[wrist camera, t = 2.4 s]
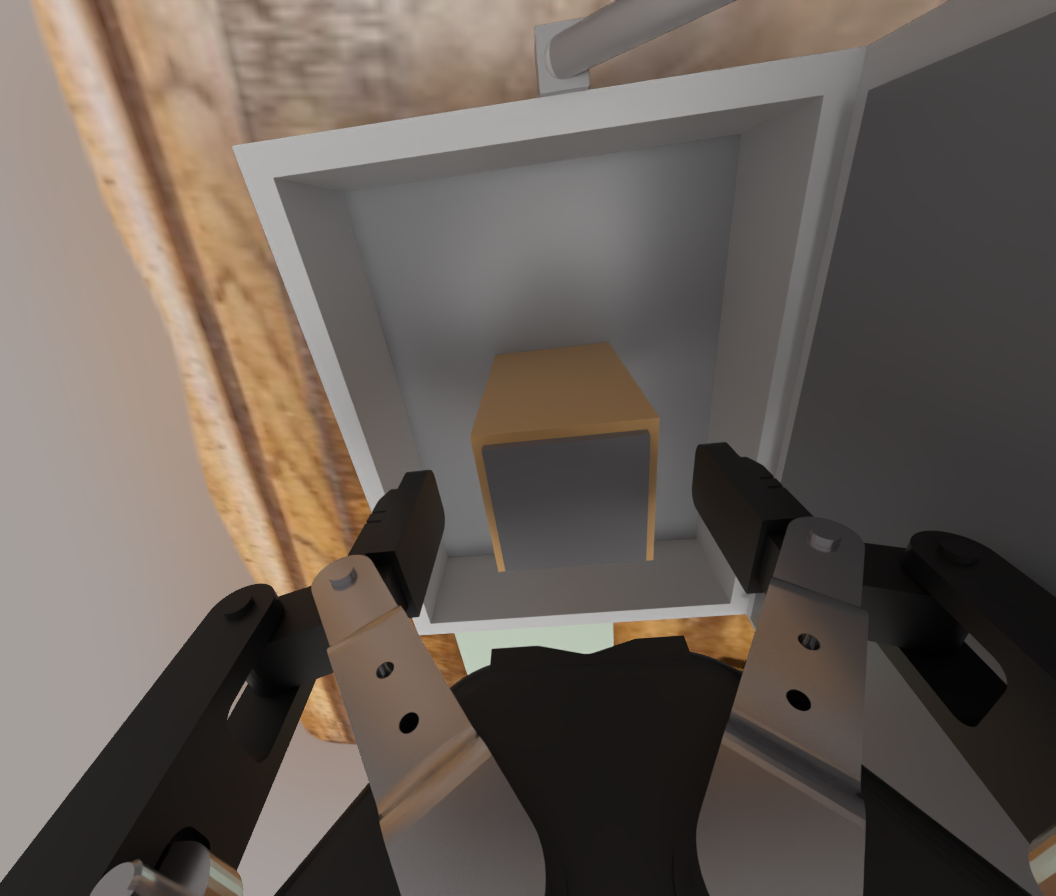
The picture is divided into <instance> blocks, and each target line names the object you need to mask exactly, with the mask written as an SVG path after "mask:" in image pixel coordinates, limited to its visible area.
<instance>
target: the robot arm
mask: <svg viewBox="0 0 1056 896" xmlns="http://www.w3.org/2000/svg"><path fill="white" fill-rule="evenodd" d="M692 498H693V503H694V505H695V508H696V510H697V511H698V513H699V515H700V516H701V518H702V520H703V522H704V523H705V525H706V527H707V528H708V530H709V532H710V533H711V535H712V537H713V538H714V540H715V542H716V543H717V545H718V547H719V549H720V550H721V552H722V554H723V555H724V557H725V559H726V560H727V562H728V564H729V565H730V567H731V569H732V571H733V572H734V574H735V576H736V577H737V579H738V581H739V582H740V584H741V586H742V587H743V589H744V591H745V593H746V594H754V593H765V594H766V598H765V601H764V604H763V607H762V611H761V614H760V617H759V621H758V624H757V627H756V631H755V634H754V637H753V641H752V644H751V647H750V651H749V654H748V657H747V661H746V664H745V667H744V671H743V673H742V672H740V671H738V670H737V669H735V668H733V667H731V666H729V665H728V664H726V663H724V662H722V661H719V660H716V659H714V658H711V657H709V656H705V655H702V654H698V653H694V652H690V651H689V648H688V646H687V643H686V641H685V638H684V636H670V637H656V638H641V639H634V640H631V641H628V642H625V643H621V644H618V645H615V646H612V647H609V648H606V649H603V650H600V651H597V652H594V653H590V654H582V653H576V652H571V651H565V650H560V649H554V648H548V647H543V646H525V647H510V648H496V649H492V650H491V661H490V665H488V666H485V667H482V668H480V669H478V670H476V671H474V672H472V673H470V674H469V675H467V676H465V677H464V678H462V679H461V680H460V681H458V682H457V683H456V684H454V685H453V686H452V687H451V688H449V686H448V684H447V683H446V681H445V679H444V678H443V676H442V674H441V673H440V671H439V669H438V667H437V666H436V664H435V662H434V661H433V659H432V657H431V656H430V654H429V652H428V650H427V649H426V647H425V645H424V644H423V642H422V640H421V639H420V637H419V635H418V633H417V632H416V630H415V628H414V627H413V625H412V623H411V622H410V620H409V618H414V617H419V616H420V613H421V609H422V606H423V602H424V599H425V595H426V592H427V588H428V585H429V581H430V578H431V574H432V571H433V567H434V564H435V560H436V557H437V553H438V550H439V546H440V542H441V539H442V535H443V532H444V528H445V514H444V508H443V505H442V501H441V497H440V494H439V490H438V486H437V483H436V479H435V476H434V473H433V471H432V470H422V471H412V472H406V473H405V475H404V477H403V479H402V481H401V483H400V485H399V487H398V489H391V490H389V491H388V492H387V493H386V494H385V495H384V496H383V497H382V498H380V499H379V500H378V502H377V504H376V506H375V507H374V509H373V511H372V514H371V515H370V516H369V518H368V520H367V524H365V525H364V527H363V529H362V531H361V533H360V534H359V536H358V538H357V540H356V542H355V543H354V545H353V547H352V549H351V551H350V552H349V554H348V556H346V557H343V558H340V559H338V560H336V561H334V562H332V563H330V564H329V565H327V566H326V567H325V568H324V569H322V570H321V571H320V572H319V573H318V575H317V576H316V577H315V579H314V581H313V583H312V586H310V587H307V588H304V589H301V590H297V591H294V592H291V593H288V594H285V595H282V596H279V597H278V596H277V594H276V592H275V591H274V589H273V588H272V587H271V586H270V585H267V584H254V585H250V586H247V587H244V588H241V589H239V590H237V591H235V592H233V593H231V594H229V595H228V596H226V597H225V598H224V599H222V600H221V601H220V602H219V603H217V604H216V605H215V606H214V607H213V608H212V609H211V611H210V612H209V613H208V614H207V616H206V617H205V618H204V619H203V621H202V622H201V623H200V625H199V626H198V627H197V629H196V630H195V631H194V632H193V634H192V635H191V636H190V638H189V639H188V640H187V642H186V643H185V644H184V645H183V647H182V648H181V649H180V651H179V652H178V653H177V655H176V656H175V657H174V658H173V660H172V661H171V662H170V664H169V665H168V666H167V668H166V669H165V670H164V671H163V673H162V674H161V675H160V677H159V678H158V679H157V680H156V682H155V683H154V684H153V686H152V687H151V688H150V690H149V691H148V692H147V693H146V695H145V696H144V697H143V699H142V700H141V701H140V703H139V704H138V705H137V706H136V708H135V709H134V710H133V712H132V713H131V714H130V716H129V717H128V718H127V720H126V721H125V722H124V723H123V725H122V726H121V727H120V728H119V730H118V731H117V732H116V734H115V735H114V737H113V738H112V739H111V740H110V742H109V743H108V744H107V745H106V747H105V748H104V749H103V751H102V752H101V753H100V754H99V756H98V757H97V759H96V760H95V761H94V762H93V763H92V765H91V766H90V767H89V769H88V770H87V771H86V773H85V774H84V775H83V776H82V778H81V779H80V780H79V782H78V783H77V784H76V786H75V787H74V788H73V790H72V791H71V792H70V793H69V795H68V796H67V797H66V798H65V800H64V801H63V802H62V804H61V805H60V806H59V808H58V809H57V810H56V811H55V813H54V814H53V815H52V817H51V818H50V819H49V821H48V822H47V823H46V825H45V826H44V827H43V828H42V830H41V831H40V832H39V834H38V835H37V836H36V838H35V839H34V840H33V841H32V843H31V844H30V845H29V846H28V848H27V849H26V850H25V852H24V853H23V854H22V856H21V857H20V858H19V859H18V861H17V862H16V863H15V865H14V866H13V867H12V869H11V870H10V871H9V872H8V874H7V875H6V876H5V878H4V879H3V880H2V882H1V883H0V896H243V883H242V880H241V877H240V875H239V873H238V872H237V868H238V866H239V864H240V861H241V859H242V856H243V854H244V852H245V849H246V847H247V844H248V842H249V840H250V837H251V835H252V832H253V830H254V828H255V825H256V823H257V820H258V818H259V815H260V813H261V811H262V808H263V806H264V803H265V801H266V799H267V796H268V794H269V791H270V789H271V787H272V784H273V782H274V780H275V777H276V775H277V772H278V770H279V768H280V765H281V763H282V760H283V758H284V756H285V753H286V751H287V748H288V746H289V743H290V741H291V739H292V736H293V734H294V731H295V729H296V727H297V724H298V722H299V719H300V717H301V715H302V712H303V710H304V707H305V705H306V703H307V700H308V698H309V695H310V693H311V691H312V688H313V686H314V683H315V681H316V679H317V678H320V677H323V676H325V675H328V674H331V673H333V672H334V675H335V678H336V681H337V684H338V687H339V690H340V694H341V697H342V700H343V703H344V706H345V709H346V712H347V715H348V718H349V721H350V725H351V728H352V731H353V734H354V737H355V740H356V743H357V746H358V749H359V752H360V756H361V759H362V762H363V765H364V768H365V771H366V774H367V777H368V780H369V783H368V784H367V785H366V787H365V788H364V789H363V790H362V792H361V793H360V794H359V795H358V796H357V797H356V799H355V800H354V801H353V802H352V803H351V804H350V806H349V807H348V808H347V809H346V810H345V812H344V813H343V814H342V815H341V817H340V818H339V819H338V820H337V821H336V822H335V824H334V825H333V826H332V827H331V828H330V829H329V831H328V832H327V833H326V834H325V835H324V837H323V838H322V839H321V840H320V841H319V843H318V844H317V845H316V846H315V847H314V849H313V850H312V851H311V852H310V854H309V855H308V856H307V857H306V858H305V859H304V860H303V862H302V863H301V864H300V865H299V866H298V868H297V869H296V870H295V871H294V872H293V874H292V875H291V876H290V877H289V878H288V880H287V881H286V882H285V883H284V884H283V885H282V887H281V888H280V889H279V890H278V891H277V893H276V894H275V895H274V896H1033V895H1031V894H1030V893H1029V892H1027V891H1026V890H1025V889H1024V888H1022V887H1021V886H1020V885H1018V884H1017V883H1016V882H1014V881H1013V880H1012V879H1011V878H1009V877H1008V876H1007V875H1005V874H1004V873H1003V872H1001V871H1000V870H999V869H998V868H996V867H995V866H994V865H992V864H991V863H990V862H988V861H987V860H986V859H985V858H983V857H982V856H981V855H979V854H978V853H977V852H975V851H974V850H973V849H972V848H970V847H969V846H968V845H966V844H965V843H964V842H962V841H961V840H960V839H959V838H957V837H956V836H955V835H953V834H952V833H951V832H950V831H948V830H947V829H946V828H944V827H943V826H942V825H940V824H939V823H938V822H937V821H935V820H934V819H933V818H931V817H930V816H929V815H927V814H926V813H925V812H924V811H922V810H921V809H920V808H918V807H917V806H916V805H914V804H913V803H912V802H911V801H909V800H908V799H907V798H905V797H904V796H903V795H901V794H900V793H899V792H898V791H896V790H895V789H894V788H892V787H891V786H890V785H889V784H887V783H886V782H885V781H883V780H882V779H881V778H879V777H878V776H877V775H876V774H874V773H873V772H872V771H870V770H869V769H868V768H866V767H865V766H864V765H863V764H861V763H862V743H863V723H864V703H865V684H866V664H867V644H868V641H872V642H876V643H877V644H878V646H879V647H880V648H881V650H882V651H883V652H884V654H885V655H886V656H887V657H888V659H889V660H890V661H891V663H892V664H893V665H894V667H895V668H896V669H897V671H898V672H899V673H900V675H901V676H902V677H903V678H904V680H905V681H906V682H907V684H908V685H909V686H910V688H911V689H912V690H913V692H914V693H915V694H916V696H917V697H918V698H919V699H920V701H921V702H922V703H923V705H924V706H925V707H926V709H927V710H928V711H929V713H930V714H931V715H932V717H933V718H934V719H935V720H936V722H937V723H938V724H939V726H940V727H941V728H942V730H943V731H944V732H945V734H946V735H947V736H948V738H949V739H950V740H951V741H952V743H953V744H954V745H955V747H956V748H957V749H958V751H959V752H960V753H961V755H962V756H963V757H964V759H965V760H966V761H967V762H968V764H969V765H970V766H971V768H972V769H973V770H974V772H975V773H976V774H977V776H978V777H979V778H980V780H981V781H982V782H983V783H984V785H985V786H986V787H987V789H988V790H989V791H990V793H991V794H992V795H993V797H994V798H995V799H996V801H997V802H998V803H999V804H1000V806H1001V807H1002V808H1003V810H1004V811H1005V812H1006V814H1007V815H1008V816H1009V818H1010V819H1011V820H1012V822H1013V823H1014V824H1015V826H1016V827H1017V828H1018V829H1019V831H1020V832H1021V833H1022V835H1023V836H1024V837H1025V839H1026V840H1027V841H1028V843H1029V844H1030V846H1029V850H1028V859H1029V865H1030V868H1031V871H1032V874H1033V876H1034V878H1035V880H1036V882H1037V884H1038V886H1039V888H1040V889H1041V891H1042V893H1043V894H1044V896H1056V597H1054V596H1053V595H1052V594H1050V593H1049V592H1048V591H1046V590H1045V589H1044V588H1042V587H1041V586H1040V585H1038V584H1037V583H1036V582H1034V581H1033V580H1032V579H1030V578H1029V577H1028V576H1026V575H1025V574H1024V573H1022V572H1021V571H1020V570H1018V569H1017V568H1016V567H1014V566H1013V565H1012V564H1010V563H1009V562H1008V561H1006V560H1005V559H1004V558H1002V557H1001V556H1000V555H998V554H997V553H996V552H994V551H993V550H991V549H990V548H988V547H986V546H985V545H983V544H981V543H979V542H976V541H974V540H972V539H969V538H967V537H964V536H960V535H957V534H953V533H949V532H943V531H921V532H917V533H915V534H914V535H913V536H912V537H911V539H910V541H909V543H908V545H907V547H906V548H901V547H894V546H886V545H878V544H870V543H864V542H863V540H862V539H861V537H860V536H859V535H858V534H857V533H855V532H854V531H853V530H852V529H850V528H848V527H847V526H845V525H843V524H841V523H838V522H836V521H833V520H829V519H825V518H820V517H814V516H813V515H812V514H811V513H810V512H809V511H808V510H807V509H806V508H805V507H804V506H803V505H802V504H801V503H800V502H799V501H798V500H797V499H796V498H795V497H794V496H793V495H792V494H791V493H790V492H789V491H788V490H787V489H786V488H785V487H784V488H783V485H782V484H781V483H780V482H779V481H778V480H777V479H776V478H774V476H773V475H772V474H771V473H770V472H769V471H768V470H767V469H766V468H765V467H764V466H763V465H762V464H760V463H758V462H756V461H754V460H752V459H750V458H748V457H740V456H739V455H738V454H737V453H736V452H735V451H734V450H733V448H732V447H731V446H730V445H729V444H728V443H726V442H718V443H708V444H699V445H698V446H697V448H696V451H695V460H694V470H693V480H692ZM969 633H970V634H971V635H972V636H973V637H974V638H975V639H976V640H977V641H978V642H979V643H980V644H981V645H982V646H983V647H984V648H985V649H986V650H987V651H988V652H989V653H990V654H991V655H992V656H993V657H994V658H995V659H996V660H997V662H998V663H999V664H1000V666H1001V667H1002V669H1003V671H1004V673H1005V676H1006V679H1007V684H1006V683H1005V682H1004V681H1003V680H1002V679H1001V678H1000V677H999V676H998V675H997V674H996V673H995V672H994V671H993V670H992V669H991V668H990V667H989V666H988V665H987V664H986V663H985V662H984V661H983V660H982V659H981V658H980V657H979V656H978V655H977V654H976V653H975V652H974V651H973V650H972V649H971V648H970V647H969V646H968V645H967V643H966V642H965V641H964V640H965V639H966V637H967V636H968V634H969ZM245 681H247V683H248V685H247V686H246V688H245V690H244V692H243V694H242V695H241V697H240V699H239V701H238V702H237V704H236V706H235V708H234V709H233V711H232V713H231V715H230V717H229V718H228V713H229V710H230V708H231V705H232V703H233V702H234V700H235V698H236V696H237V695H238V693H239V691H240V689H241V688H242V686H243V684H244V682H245ZM227 718H228V720H227Z"/></svg>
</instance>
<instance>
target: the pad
mask: <svg viewBox="0 0 1056 896" xmlns="http://www.w3.org/2000/svg"><path fill="white" fill-rule="evenodd" d="M455 636H456V640H457V643H458V646H459V649H460V652H461V655H462V659H463V662H464V665H465V668H466V671H467V674H468V675H469V674H470V673H472V672H474V671H476V670H478V669H480V668H482V667H485V666H488V665H490V661H491V650H492V649H496V648H510V647H525V646H543V647H548V648H554V649H560V650H565V651H571V652H576V653H582V654H590V653H594V652H597V651H600V650H603V649H606V648H609V647H612V646H614V644H613V623H599V624H584V625H569V626H553V627H538V628H523V629H507V630H492V631H476V632H461V633H455Z"/></svg>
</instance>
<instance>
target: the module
mask: <svg viewBox="0 0 1056 896" xmlns="http://www.w3.org/2000/svg"><path fill="white" fill-rule="evenodd" d="M659 420H660V418H659V416H658V415H657V413H656V412H655V410H654V409H653V407H652V406H651V404H650V403H649V401H648V400H647V398H646V397H645V395H644V394H643V392H642V391H641V389H640V388H639V386H638V385H637V383H636V382H635V380H634V379H633V377H632V376H631V374H630V373H629V371H628V370H627V368H626V367H625V365H624V364H623V362H622V361H621V360H620V358H619V357H618V355H617V354H616V352H615V351H614V349H613V348H612V346H611V345H610V343H609V342H604V343H596V344H587V345H578V346H569V347H560V348H552V349H543V350H534V351H525V352H516V353H507V354H499V355H495V358H494V361H493V365H492V368H491V371H490V374H489V377H488V380H487V384H486V387H485V390H484V393H483V396H482V400H481V403H480V406H479V409H478V412H477V415H476V419H475V422H474V425H473V428H472V431H471V435H470V440H471V445H472V449H473V454H474V459H475V463H476V468H477V473H478V478H479V482H480V487H481V492H482V497H483V501H484V506H485V511H486V516H487V520H488V525H489V530H490V535H491V539H492V544H493V549H494V554H495V558H496V563H497V568H498V572H503V571H518V570H531V569H544V568H557V567H571V566H584V565H597V564H611V563H624V562H637V561H649V560H653V553H654V531H655V509H656V486H657V464H658V442H659Z"/></svg>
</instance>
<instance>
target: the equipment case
mask: <svg viewBox="0 0 1056 896" xmlns="http://www.w3.org/2000/svg"><path fill="white" fill-rule="evenodd" d="M734 1H736V0H616V1H614V2H612V3H610V4H609V5H607V6H605V7H604V8H602V9H600V10H598V11H597V12H595V13H593V14H591V15H590V16H588V17H585V18H579V19H574V20H568V21H562V22H556V23H550V24H544V25H538V26H535V64H536V77H537V89H538V98H534V99H527V100H521V101H514V102H508V103H502V104H495V105H489V106H483V107H476V108H470V109H464V110H457V111H451V112H444V113H438V114H432V115H425V116H419V117H413V118H406V119H400V120H394V121H387V122H381V123H374V124H368V125H362V126H355V127H349V128H343V129H336V130H330V131H324V132H317V133H311V134H304V135H298V136H292V137H285V138H279V139H273V140H266V141H260V142H254V143H247V144H241V145H234V146H232V148H233V151H234V153H235V156H236V159H237V161H238V164H239V166H240V169H241V172H242V174H243V177H244V180H245V182H246V185H247V187H248V190H249V193H250V195H251V198H252V200H253V203H254V206H255V208H256V211H257V214H258V216H259V219H260V221H261V224H262V227H263V229H264V232H265V234H266V237H267V240H268V242H269V245H270V248H271V250H272V253H273V255H274V258H275V261H276V263H277V266H278V268H279V271H280V274H281V276H282V279H283V282H284V284H285V287H286V289H287V292H288V295H289V297H290V300H291V302H292V305H293V308H294V310H295V313H296V315H297V318H298V321H299V323H300V326H301V329H302V331H303V334H304V336H305V339H306V342H307V344H308V347H309V349H310V352H311V355H312V357H313V360H314V363H315V365H316V368H317V370H318V373H319V376H320V378H321V381H322V383H323V386H324V389H325V391H326V394H327V397H328V399H329V402H330V404H331V407H332V410H333V412H334V415H335V417H336V420H337V423H338V425H339V428H340V431H341V433H342V436H343V438H344V441H345V444H346V446H347V449H348V451H349V454H350V457H351V459H352V462H353V465H354V467H355V470H356V472H357V475H358V478H359V480H360V483H361V485H362V488H363V491H364V493H365V496H366V498H367V501H368V504H369V506H370V509H371V512H372V511H373V509H374V507H375V506H376V504H377V502H378V500H379V499H380V498H382V497H383V496H384V495H385V494H386V493H387V492H388V491H389V490H391V489H398V487H399V485H400V483H401V481H402V479H403V477H404V475H405V473H406V472H412V471H422V470H432V471H433V473H434V476H435V479H436V483H437V486H438V490H439V494H440V497H441V501H442V505H443V508H444V514H445V528H444V532H443V535H442V539H441V542H440V546H439V550H438V553H437V557H436V560H435V564H434V567H433V571H432V574H431V578H430V581H429V585H428V588H427V592H426V595H425V599H424V602H423V606H422V609H421V613H420V616H419V617H414V618H412V619H413V621H414V624H415V627H416V629H417V632H418V634H419V635H430V634H446V633H461V632H476V631H492V630H507V629H523V628H538V627H553V626H569V625H584V624H599V623H615V622H630V621H645V620H661V619H676V618H691V617H707V616H722V615H737V614H746V615H747V617H748V619H749V621H750V623H751V624H752V626H753V628H754V630H755V631H756V627H757V624H758V621H759V617H760V614H761V611H762V607H763V604H764V601H765V598H766V594H765V593H754V594H746V593H745V591H744V589H743V587H742V586H741V584H740V582H739V581H738V579H737V577H736V576H735V574H734V572H733V571H732V569H731V567H730V565H729V564H728V562H727V560H726V559H725V557H724V555H723V554H722V552H721V550H720V549H719V547H718V545H717V543H716V542H715V540H714V538H713V537H712V535H711V533H710V532H709V530H708V528H707V527H706V525H705V523H704V522H703V520H702V518H701V516H700V515H699V513H698V511H697V510H696V508H695V505H694V503H693V498H692V480H693V470H694V460H695V451H696V448H697V446H698V445H699V444H708V443H718V442H726V443H728V444H729V445H730V446H731V447H732V448H733V450H734V451H735V452H736V453H737V454H738V455H739V456H740V457H748V458H750V459H752V460H754V461H756V462H758V463H760V464H762V465H763V466H764V467H765V468H766V469H767V470H768V471H769V472H770V473H771V474H772V475H773V476H774V478H776V479H777V480H778V481H779V482H780V483H781V484H782V485H783V488H784V487H785V488H786V489H787V490H788V491H789V492H790V493H791V494H792V495H793V496H794V497H795V498H796V499H797V500H798V501H799V502H800V503H801V504H802V505H803V506H804V507H805V508H806V509H807V510H808V511H809V512H810V513H811V514H812V515H813V516H814V517H820V518H825V519H829V520H833V521H836V522H838V523H841V524H843V525H845V526H847V527H848V528H850V529H852V530H853V531H854V532H855V533H857V534H858V535H859V536H860V537H861V539H862V540H863V542H864V543H870V544H878V545H886V546H894V547H901V548H906V547H907V545H908V543H909V541H910V539H911V537H912V536H913V535H914V534H915V533H917V532H921V531H943V532H949V533H953V534H957V535H960V536H964V537H967V538H969V539H972V540H974V541H976V542H979V543H981V544H983V545H985V546H986V547H988V548H990V549H991V550H993V551H994V552H996V553H997V554H998V555H1000V556H1001V557H1002V558H1004V559H1005V560H1006V561H1008V562H1009V563H1010V564H1012V565H1013V566H1014V567H1016V568H1017V569H1018V570H1020V571H1021V572H1022V573H1024V574H1025V575H1026V576H1028V577H1029V578H1030V579H1032V580H1033V581H1034V582H1036V583H1037V584H1038V585H1040V586H1041V587H1042V588H1044V589H1045V590H1046V591H1048V592H1049V593H1050V594H1052V595H1053V596H1054V597H1056V0H949V1H947V2H946V3H944V4H942V5H940V6H938V7H937V8H935V9H933V10H931V11H929V12H928V13H926V14H924V15H922V16H920V17H919V18H917V19H915V20H913V21H911V22H910V23H908V24H906V25H904V26H902V27H901V28H899V29H897V30H895V31H893V32H892V33H890V34H888V35H886V36H884V37H883V38H881V39H879V40H877V41H875V42H874V43H872V44H870V45H868V46H864V47H858V48H852V49H845V50H839V51H833V52H826V53H820V54H814V55H807V56H801V57H794V58H788V59H782V60H775V61H769V62H763V63H756V64H750V65H744V66H737V67H731V68H724V69H718V70H712V71H705V72H699V73H693V74H686V75H680V76H674V77H667V78H661V79H654V80H648V81H642V82H635V83H629V84H623V85H616V86H610V87H604V88H597V89H591V90H588V88H589V68H592V67H594V66H596V65H598V64H600V63H602V62H604V61H607V60H609V59H611V58H613V57H615V56H617V55H620V54H622V53H624V52H626V51H628V50H630V49H633V48H635V47H637V46H639V45H641V44H643V43H646V42H648V41H650V40H652V39H654V38H656V37H658V36H661V35H663V34H665V33H667V32H669V31H671V30H674V29H676V28H678V27H680V26H682V25H684V24H687V23H689V22H691V21H693V20H695V19H697V18H699V17H702V16H704V15H706V14H708V13H710V12H712V11H715V10H717V9H719V8H721V7H723V6H725V5H728V4H730V3H732V2H734ZM604 342H609V343H610V345H611V346H612V348H613V349H614V351H615V352H616V354H617V355H618V357H619V358H620V360H621V361H622V362H623V364H624V365H625V367H626V368H627V370H628V371H629V373H630V374H631V376H632V377H633V379H634V380H635V382H636V383H637V385H638V386H639V388H640V389H641V391H642V392H643V394H644V395H645V397H646V398H647V400H648V401H649V403H650V404H651V406H652V407H653V409H654V410H655V412H656V413H657V415H658V416H659V418H660V420H659V442H658V464H657V486H656V509H655V531H654V553H653V560H649V561H637V562H624V563H611V564H597V565H584V566H571V567H557V568H544V569H531V570H518V571H503V572H498V568H497V563H496V558H495V554H494V549H493V544H492V539H491V535H490V530H489V525H488V520H487V516H486V511H485V506H484V501H483V497H482V492H481V487H480V482H479V478H478V473H477V468H476V463H475V459H474V454H473V449H472V445H471V440H470V435H471V431H472V428H473V425H474V422H475V419H476V415H477V412H478V409H479V406H480V403H481V400H482V396H483V393H484V390H485V387H486V384H487V380H488V377H489V374H490V371H491V368H492V365H493V361H494V358H495V355H499V354H507V353H516V352H525V351H534V350H543V349H552V348H560V347H569V346H578V345H587V344H596V343H604ZM964 641H965V642H966V643H967V645H968V646H969V647H970V648H971V649H972V650H973V651H974V652H975V653H976V654H977V655H978V656H979V657H980V658H981V659H982V660H983V661H984V662H985V663H986V664H987V665H988V666H989V667H990V668H991V669H992V670H993V671H994V672H995V673H996V674H997V675H998V676H999V677H1000V678H1001V679H1002V680H1003V681H1004V682H1005V683H1006V684H1007V679H1006V676H1005V673H1004V671H1003V669H1002V667H1001V666H1000V664H999V663H998V662H997V660H996V659H995V658H994V657H993V656H992V655H991V654H990V653H989V652H988V651H987V650H986V649H985V648H984V647H983V646H982V645H981V644H980V643H979V642H978V641H977V640H976V639H975V638H974V637H973V636H972V635H971V634H970V633H969V634H968V636H967V637H966V639H965V640H964ZM861 764H863V765H864V766H865V767H866V768H868V769H869V770H870V771H872V772H873V773H874V774H876V775H877V776H878V777H879V778H881V779H882V780H883V781H885V782H886V783H887V784H889V785H890V786H891V787H892V788H894V789H895V790H896V791H898V792H899V793H900V794H901V795H903V796H904V797H905V798H907V799H908V800H909V801H911V802H912V803H913V804H914V805H916V806H917V807H918V808H920V809H921V810H922V811H924V812H925V813H926V814H927V815H929V816H930V817H931V818H933V819H934V820H935V821H937V822H938V823H939V824H940V825H942V826H943V827H944V828H946V829H947V830H948V831H950V832H951V833H952V834H953V835H955V836H956V837H957V838H959V839H960V840H961V841H962V842H964V843H965V844H966V845H968V846H969V847H970V848H972V849H973V850H974V851H975V852H977V853H978V854H979V855H981V856H982V857H983V858H985V859H986V860H987V861H988V862H990V863H991V864H992V865H994V866H995V867H996V868H998V869H999V870H1000V871H1001V872H1003V873H1004V874H1005V875H1007V876H1008V877H1009V878H1011V879H1012V880H1013V881H1014V882H1016V883H1017V884H1018V885H1020V886H1021V887H1022V888H1024V889H1025V890H1026V891H1027V892H1029V893H1030V894H1031V895H1033V896H1044V894H1043V893H1042V891H1041V889H1040V888H1039V886H1038V884H1037V882H1036V880H1035V878H1034V876H1033V874H1032V871H1031V868H1030V865H1029V859H1028V850H1029V846H1030V844H1029V843H1028V841H1027V840H1026V839H1025V837H1024V836H1023V835H1022V833H1021V832H1020V831H1019V829H1018V828H1017V827H1016V826H1015V824H1014V823H1013V822H1012V820H1011V819H1010V818H1009V816H1008V815H1007V814H1006V812H1005V811H1004V810H1003V808H1002V807H1001V806H1000V804H999V803H998V802H997V801H996V799H995V798H994V797H993V795H992V794H991V793H990V791H989V790H988V789H987V787H986V786H985V785H984V783H983V782H982V781H981V780H980V778H979V777H978V776H977V774H976V773H975V772H974V770H973V769H972V768H971V766H970V765H969V764H968V762H967V761H966V760H965V759H964V757H963V756H962V755H961V753H960V752H959V751H958V749H957V748H956V747H955V745H954V744H953V743H952V741H951V740H950V739H949V738H948V736H947V735H946V734H945V732H944V731H943V730H942V728H941V727H940V726H939V724H938V723H937V722H936V720H935V719H934V718H933V717H932V715H931V714H930V713H929V711H928V710H927V709H926V707H925V706H924V705H923V703H922V702H921V701H920V699H919V698H918V697H917V696H916V694H915V693H914V692H913V690H912V689H911V688H910V686H909V685H908V684H907V682H906V681H905V680H904V678H903V677H902V676H901V675H900V673H899V672H898V671H897V669H896V668H895V667H894V665H893V664H892V663H891V661H890V660H889V659H888V657H887V656H886V655H885V654H884V652H883V651H882V650H881V648H880V647H879V646H878V644H877V643H876V642H872V641H868V644H867V664H866V684H865V703H864V723H863V743H862V763H861Z"/></svg>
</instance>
